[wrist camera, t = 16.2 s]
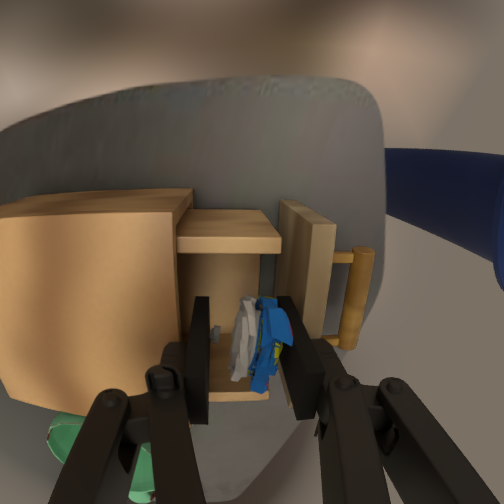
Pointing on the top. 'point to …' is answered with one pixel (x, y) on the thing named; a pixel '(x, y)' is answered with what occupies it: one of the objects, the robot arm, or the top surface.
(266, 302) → the toy
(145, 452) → the mug
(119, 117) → the top surface
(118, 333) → the cabinet
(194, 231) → the drawer
